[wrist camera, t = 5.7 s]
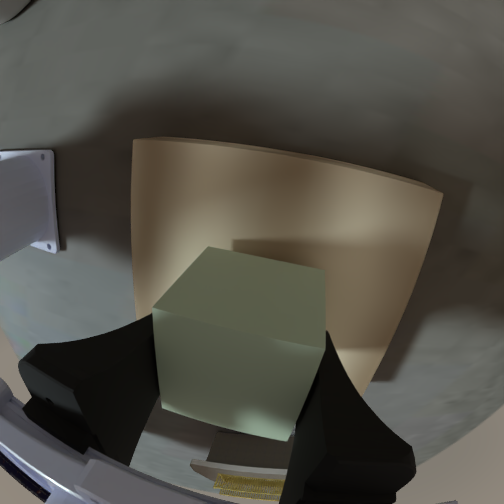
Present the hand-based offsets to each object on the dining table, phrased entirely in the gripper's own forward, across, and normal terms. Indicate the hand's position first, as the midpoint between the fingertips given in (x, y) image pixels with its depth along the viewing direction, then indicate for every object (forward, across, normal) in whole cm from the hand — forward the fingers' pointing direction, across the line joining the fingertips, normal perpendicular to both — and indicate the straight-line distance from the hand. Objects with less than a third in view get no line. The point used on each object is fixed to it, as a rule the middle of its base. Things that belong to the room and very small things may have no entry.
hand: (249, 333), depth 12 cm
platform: (+6, -2, +17) cm, 18 cm away
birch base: (+5, 0, 0) cm, 5 cm away
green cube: (+2, 0, 0) cm, 2 cm away
